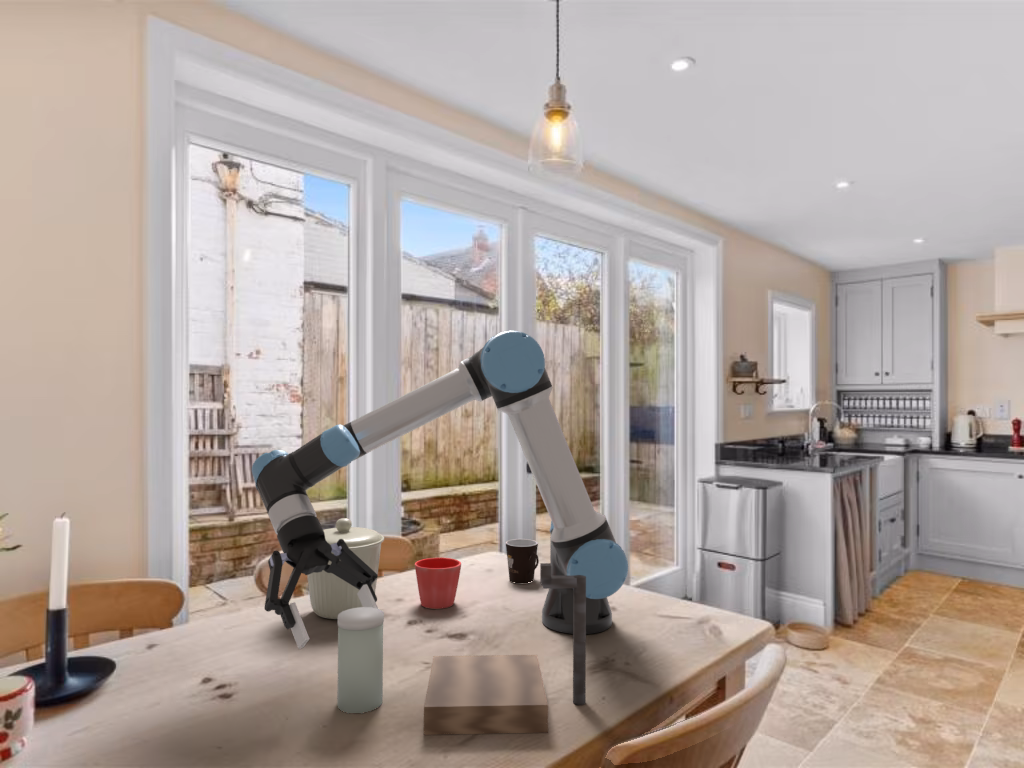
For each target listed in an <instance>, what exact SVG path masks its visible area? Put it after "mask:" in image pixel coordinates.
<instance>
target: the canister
mask: <svg viewBox="0 0 1024 768" xmlns="http://www.w3.org/2000/svg"><path fill="white" fill-rule="evenodd" d="M352 525H353V523H352V521H351V520H350V519H349V518H348V517H347V518H346V517H341V518H339V519H338V520H337V521H336V522H335V527H332V528H326V529H323V531H324V534H325V539H326V541H327V542H328V543H329V544H330V545H331V544H334V543H337V542H338V540H339V539H343V540H344V541H345V543H346V545H347V546H348V548H349V549H350V550H351V551H352V552H353V553H354V554H356V555H357V556H358V557H359V558H360V559H361V560H362V561H363V562H364V563H365V564H367V565H368V566H369V567H370V568H371V569H372V570H373V571H374V572H375V573H376V574H377V575H378V574H379V565H380V557H381V556H380V555H381V550H382V549H381V548H382V543H383V542H384V541H385V536H384V535H383V534H381V533H379V532H378V531H376V530H374V529H371V528H367V527H358V526H356V527H355V526H352ZM331 553H332V554H334V553H333V552H331ZM339 560H340V559H339ZM340 561H341V560H340ZM331 563H332V562H331V561H329V562H328V565H330V564H331ZM306 576H307V583H308V584H307V585H308V591H309V601H310V606H311V608H312V611H313V612H314V613H315V615H317V616H318V617H319V618H324V619H330V620H338V614H339V613H341V612H343V611H345V610H348V609H352V608H358V607H363V606H362V604H361V601H360V599H359V597H358V595H357V593H358V592H359V589H357V588H356V587H354V586H352V585H351V584H349V583H347V582H346V581H344V580H342V579H341V578H339V577H337V576H336V575H334V574H332V573H327V572H325V571H324V570H322V572H318V573H315V572H313V573H311V574H309V575H306ZM377 581H378V578H377V579H376V580H375V581H374V583H373V584H372V585H371V586H372V588H373V590H374V592H375V593H376V588H377ZM361 583H362V582H361Z"/></svg>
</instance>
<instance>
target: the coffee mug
mask: <svg viewBox="0 0 1024 768" xmlns="http://www.w3.org/2000/svg"><path fill="white" fill-rule="evenodd" d="M538 544H539V543H538V541H536V540H533V539H528V538H514V539H509V540H507V541H505V550H506V557H507V558H506V559H507V568H508V579H509V582H510V581H512V582H515V583H514V584H516V583H528V582H531V581H533V580H534V579H535V571H536V569H537V568H538V566H539V556H538V554H537V553H538V546H539V545H538ZM512 582H511V583H512ZM533 582H534V581H533ZM528 584H529V583H528Z"/></svg>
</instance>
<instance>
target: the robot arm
mask: <svg viewBox="0 0 1024 768" xmlns="http://www.w3.org/2000/svg"><path fill="white" fill-rule="evenodd" d="M553 388H554V387H553V384H552V382H551V379H550V377H549V374H548V372H547V369H546V358H545V354H544V352H543V349H542V347H541V346H540V343H539V342H538V341H536V339H535V338H534V337H533V336H531V335H529V334H527V333H525V332H523V331H518V330H504V331H502V332H498V333H497V334H496V335H493V336H491V337H490V338H489V339H488V340H487V341H486V343H485V344H484V345H483V347H482V348H481V349H479V350H477V352H475V353H473V354H472V355H471V356H469V357H467V358H465V359H463V360H461V361H459V365H458V367H456V368H455V369H453V370H451V371H449V372H447V373H445V374H443V375H441V376H439V377H438V378H436V379H434V380H431V381H429V382H427V383H426V384H423V385H422V386H419V387H417V388H416V389H414V390H411V391H409V392H407V393H405V394H404V395H401V396H400V397H398V398H397V397H396V399H394V400H392V401H389V402H387V403H385V404H383V405H382V406H379V407H377V408H376V409H373V410H371V411H369V412H367V413H365V414H364V415H361V416H360V417H357V418H356V419H354V420H352V421H350V422H348V423H346V424H336V425H334V426H332V427H330V428H328V429H326V430H324V431H323V432H321V433H320V434H319V435H316V437H314V438H313V439H311V440H310V441H308V442H306V443H304V444H303V445H302V446H300V447H299V448H297V449H295V450H294V451H292V452H290V453H289V452H288V451H286V450H283V449H282V450H281V449H274V450H271V451H270V452H264V453H263V454H261V455H259V456H258V457H257V458H256V459H255V460H254V461H253V463H252V465H251V466H252V467H251V474H252V477H253V480H254V483H255V484H254V486H255V489H256V491H257V492H258V494H259V495H260V496H259V497H260V498H261V501H262V503H263V506H264V508H265V510H266V513H267V515H268V518H269V520H270V523H271V525H272V528H273V530H274V532H275V534H276V538H277V541H278V543H279V546H280V548H281V550H282V553H281V552H280V551H279V550H273V552H272V553H271V555H270V557H269V559H268V560H267V564H268V568H269V578H268V584H267V589H266V594H265V601H264V610H265V611H266V612H271V611H274V614H276V615H277V616H280V618H281V620H282V624H283V625H284V628H285V629H286V630H289V629H290V630H291V633H292V635H293V638H294V641H295V643H296V646H297V649H298V650H300V649H303V648H304V647H305V646H306V645H307V643H308V642H309V640H310V636H309V634H308V632H307V628H306V627H305V623H304V621H303V619H302V616H301V613H300V611H299V609H298V606H297V604H296V602H295V601H293V602H291V603H290V601H291V599H292V597H293V594H294V592H295V589H296V587H297V584H298V582H299V580H300V578H301V575H302V574H303V575H305V576H307V575H309V574H311V573H313V572H315V573H318V572H322V570H324V571H325V572H327V573H332V574H334V575H336V576H337V577H339V578H341V579H342V580H344V581H346V582H347V583H349V584H351V585H352V586H354V587H356V588H357V589H359V592H358V593H357V595H358V597H359V599H360V601H361V604H362V606H363V607H373V608H378V609H379V607H378V604H377V602H378V596H377V595H376V591H375V592H374V590H373V588H372V586H371V585H372V584H373V583H374V581H375V580H376V579H377V580H378V575H377V574H376V573H375V572H374V571H373V570H372V569H371V568H370V567H369V566H368V565H367V564H365V563H364V562H363V561H362V560H361V559H360V558H359V557H358V556H357V555H356V554H354V553H353V552H352V551H351V550H350V549H349V548H348V546H347V545H346V543H345V541H344V540H343V539H339V540H338V542H337V543H334V544H331V545H330V544H329V543H328V542H327V541H326V539H325V534H324V531H323V530H324V529H323V526H322V525H321V523H320V519H319V518H318V517H317V513H316V510H315V508H314V506H313V504H312V502H311V500H310V498H309V495H308V494H307V490H309V489H311V488H312V487H314V486H315V485H316V484H318V483H321V481H323V480H325V479H326V478H328V477H330V476H331V475H333V474H335V473H336V472H338V471H340V470H341V469H343V468H345V467H348V465H350V464H351V463H352V462H354V461H355V460H358V459H359V458H361V457H364V456H365V455H366V454H369V453H371V452H372V451H375V450H377V449H379V448H381V447H383V446H385V445H386V444H388V443H390V442H392V441H395V440H397V439H399V438H400V437H403V436H404V435H405V436H406V435H407V434H409V433H410V432H413V431H414V430H417V429H419V428H421V427H423V426H425V425H427V424H428V423H431V422H433V421H435V420H437V419H438V418H441V417H442V416H445V415H447V414H448V413H450V412H452V411H455V410H456V409H458V408H460V407H462V406H465V405H467V404H468V403H470V402H472V401H477V402H483V401H485V400H487V399H488V398H491V397H492V399H493V401H494V404H495V407H496V409H497V411H499V412H502V413H504V414H506V415H507V416H508V419H509V420H510V422H511V425H512V427H513V430H514V433H515V435H516V438H517V440H518V442H519V445H520V447H521V449H522V451H523V455H524V457H525V459H526V461H527V464H528V467H529V469H530V471H531V474H532V476H533V479H534V481H535V484H536V485H537V488H538V491H539V494H540V496H541V498H542V501H543V503H544V505H545V508H546V511H547V513H548V516H549V518H550V528H549V532H550V533H549V534H550V542H549V543H550V544H549V546H550V552H549V554H550V556H549V557H550V561H549V563H550V564H551V576H575V575H583V576H586V635H592V634H598V633H601V632H605V631H607V630H608V629H610V628H611V627H612V625H613V613H612V609H611V606H610V602H609V599H608V597H611V596H612V595H614V594H616V593H617V592H618V591H619V590H620V589H621V588H622V586H623V585H624V583H625V581H626V579H627V577H628V571H629V563H628V558H627V556H626V553H625V551H624V550H623V549H622V546H620V545H619V543H617V542H616V539H615V536H614V534H613V532H612V530H611V527H610V525H609V522H608V520H607V517H606V515H604V513H600V512H598V511H596V510H595V508H594V506H593V504H592V501H591V497H590V496H589V494H588V491H587V488H586V486H585V483H584V482H583V481H584V480H583V479H582V476H581V474H580V471H579V469H578V466H577V464H576V461H575V460H574V457H573V454H572V452H571V449H570V447H569V444H568V441H567V439H566V437H565V434H564V433H563V429H562V428H561V425H560V423H559V420H558V418H557V414H556V413H555V409H554V408H553V405H552V403H551V400H550V396H551V393H552V390H553ZM331 552H333V553H334V554H332V553H331ZM339 559H340V560H341V561H340V560H339ZM329 561H331V562H332V563H331V564H330V565H328V562H329ZM285 563H286V564H288V565H289V566H291V568H292V571H291V574H290V576H289V578H288V581H287V583H286V585H285V587H284V590H283V592H282V595H281V597H280V598H279V592H280V585H281V577H282V572H283V571H282V570H283V565H284V564H285ZM361 582H362V583H361ZM543 603H544V604H543V606H542V610H541V622H542V624H543V625H544V626H545V627H547V628H548V629H550V630H552V631H556V632H559V633H564V634H570V635H571V634H572V635H573V588H566V589H548V591H547V594H546V598H545V600H544V602H543Z"/></svg>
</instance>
